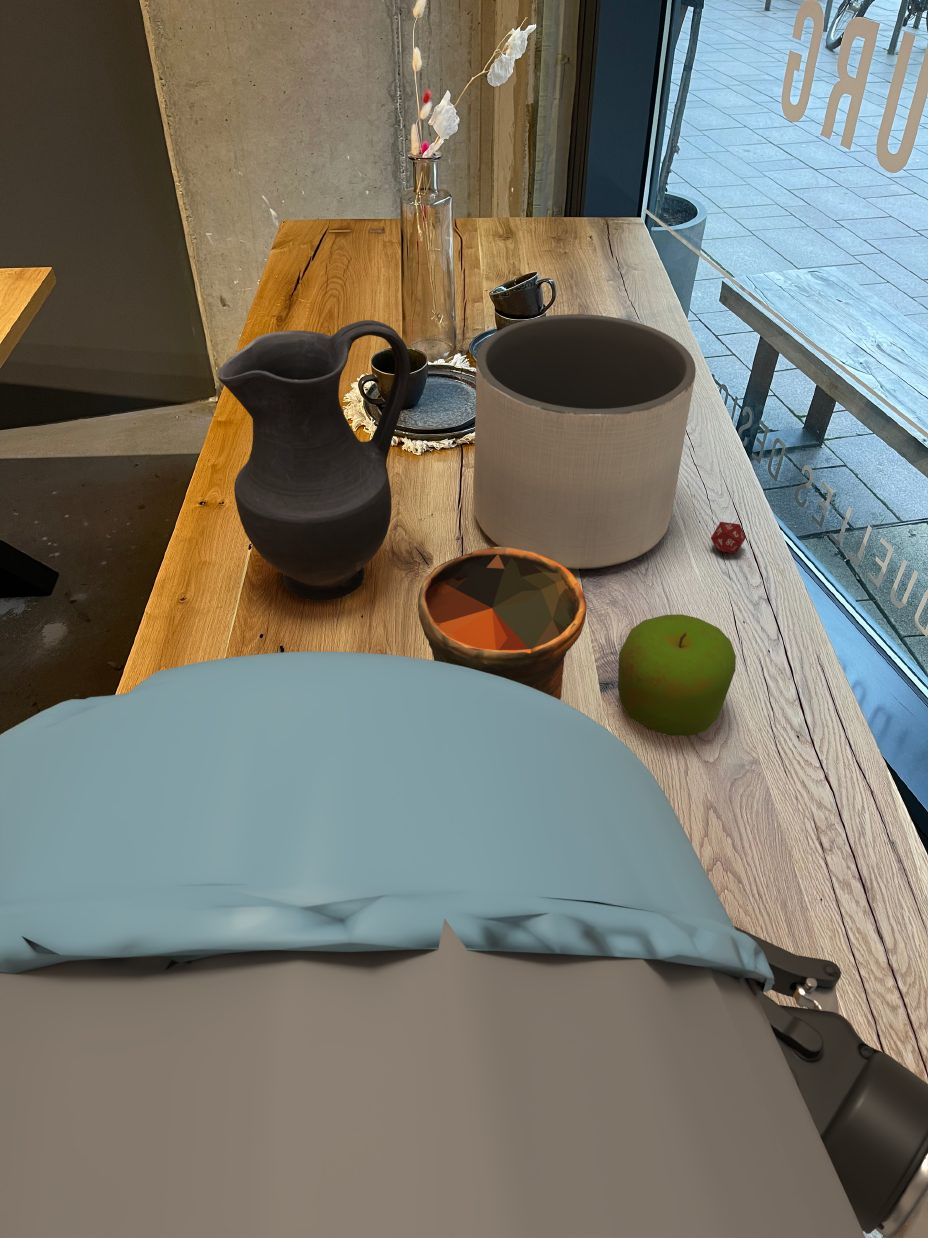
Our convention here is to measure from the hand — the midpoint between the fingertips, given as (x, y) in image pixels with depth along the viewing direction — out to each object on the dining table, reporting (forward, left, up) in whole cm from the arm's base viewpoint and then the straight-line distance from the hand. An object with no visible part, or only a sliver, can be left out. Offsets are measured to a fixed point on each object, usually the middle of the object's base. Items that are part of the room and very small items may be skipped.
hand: (532, 871), depth 55 cm
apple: (+37, -2, -22) cm, 43 cm away
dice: (+66, -2, -22) cm, 69 cm away
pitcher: (+43, +40, -22) cm, 63 cm away
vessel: (+25, +12, -22) cm, 35 cm away
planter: (+65, +18, -22) cm, 71 cm away
